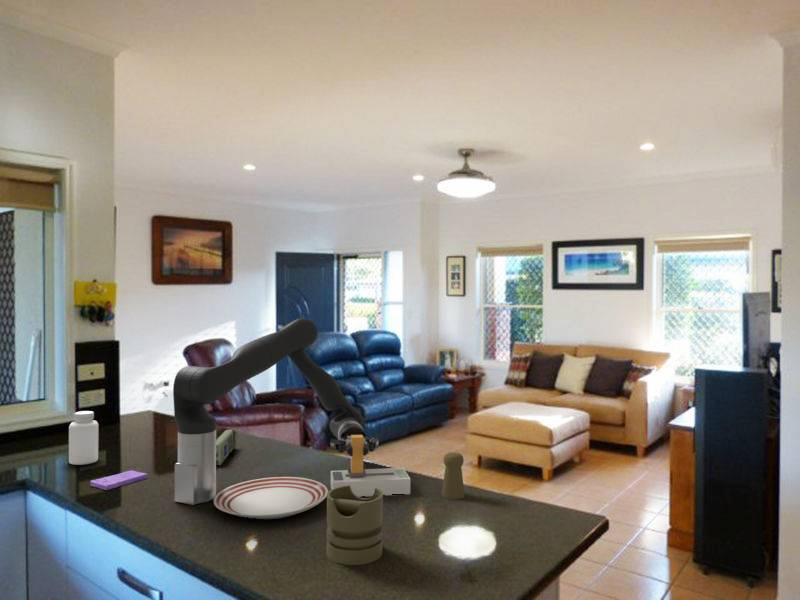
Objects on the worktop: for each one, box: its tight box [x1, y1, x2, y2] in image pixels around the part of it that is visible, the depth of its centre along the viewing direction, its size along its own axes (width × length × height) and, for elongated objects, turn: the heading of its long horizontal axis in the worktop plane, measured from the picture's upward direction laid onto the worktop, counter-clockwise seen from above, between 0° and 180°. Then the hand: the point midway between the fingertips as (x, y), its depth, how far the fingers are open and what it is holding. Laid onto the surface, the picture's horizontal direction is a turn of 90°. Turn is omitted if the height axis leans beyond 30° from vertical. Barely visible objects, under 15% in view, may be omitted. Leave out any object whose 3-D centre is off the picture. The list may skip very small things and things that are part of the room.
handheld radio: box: [216, 429, 234, 466], centre depth 191 cm, size 7×3×25 cm
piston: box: [326, 485, 384, 566], centre depth 125 cm, size 11×12×11 cm
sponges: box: [89, 469, 148, 491], centre depth 168 cm, size 7×13×2 cm, turn 149°
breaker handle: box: [347, 435, 366, 477], centre depth 163 cm, size 4×4×10 cm
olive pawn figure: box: [441, 452, 466, 501], centre depth 160 cm, size 6×6×11 cm
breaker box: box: [330, 467, 411, 498], centre depth 163 cm, size 20×10×4 cm, turn 100°
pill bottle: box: [68, 410, 99, 466], centre depth 186 cm, size 8×8×15 cm
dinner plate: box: [213, 476, 329, 520], centre depth 151 cm, size 28×27×3 cm
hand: (358, 451), depth 160 cm, fingers closed on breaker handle, 3 cm apart
